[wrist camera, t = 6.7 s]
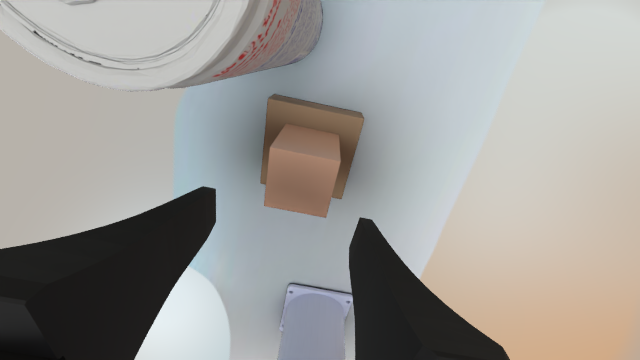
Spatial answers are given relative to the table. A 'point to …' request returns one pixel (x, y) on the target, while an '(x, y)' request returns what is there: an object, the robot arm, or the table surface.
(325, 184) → the block
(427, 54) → the table surface
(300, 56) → the beverage can
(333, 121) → the plinth
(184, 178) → the table surface
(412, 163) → the table surface
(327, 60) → the table surface
